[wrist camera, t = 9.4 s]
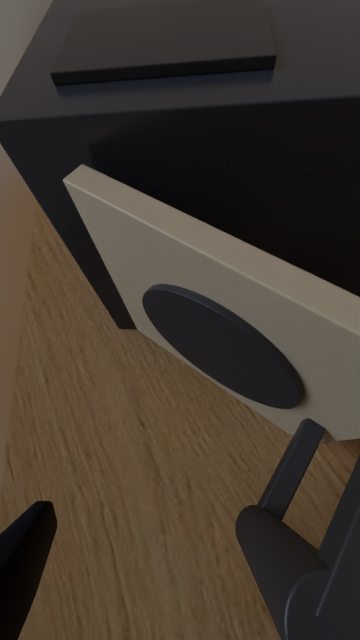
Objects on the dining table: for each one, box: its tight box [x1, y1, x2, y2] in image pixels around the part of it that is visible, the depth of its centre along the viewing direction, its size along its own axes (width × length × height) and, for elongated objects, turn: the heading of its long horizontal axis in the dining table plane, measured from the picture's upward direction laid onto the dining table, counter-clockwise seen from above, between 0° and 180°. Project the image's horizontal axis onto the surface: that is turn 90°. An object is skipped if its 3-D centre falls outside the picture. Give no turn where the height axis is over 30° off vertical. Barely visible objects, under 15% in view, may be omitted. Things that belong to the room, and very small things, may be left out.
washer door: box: [63, 164, 360, 640], centre depth 10 cm, size 6×10×10 cm, turn 54°
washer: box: [0, 0, 360, 329], centre depth 15 cm, size 14×15×14 cm
